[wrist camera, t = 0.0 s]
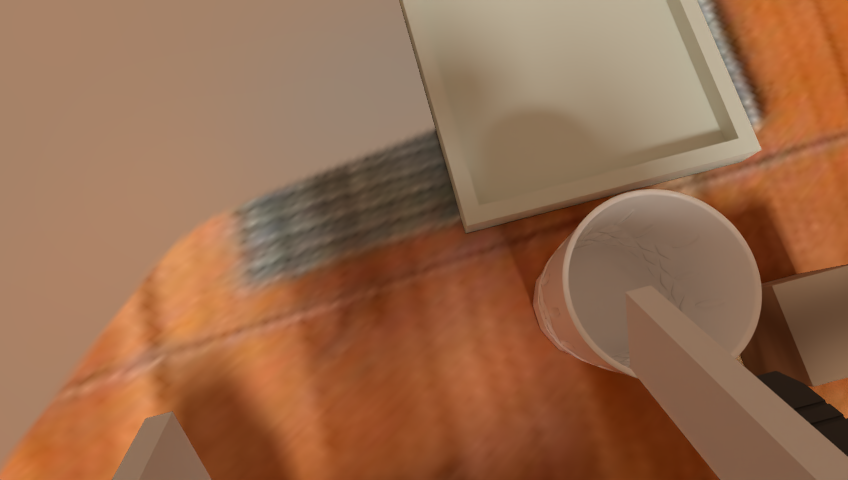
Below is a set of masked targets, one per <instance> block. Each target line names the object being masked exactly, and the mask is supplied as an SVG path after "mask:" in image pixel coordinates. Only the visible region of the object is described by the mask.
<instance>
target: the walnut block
mask: <svg viewBox="0 0 848 480" xmlns="http://www.w3.org/2000/svg"><path fill="white" fill-rule="evenodd" d="M761 287H762V304H761V312H760V317H759V320H758V324H757V327H756V329H755V332H754V334H753V336H752V338H751V340H750V341H749V343H748V345H747V346H746V347H745V349H744V350H743V351H742V353H741V354H740V355H741V358H742V360H743V363H744V366H745V368H747V369H748V370H749V371H750V372H751V373H752V374H753V375H755V376H758V375H762V374H765V373H769V372H773V371H778V372H780V373H782V374H785V375H787V376H789V377H791V378H793V379H796V380H798V381H800V382H802V383H804V384H805V385H806V386H812V387H814V386H818V385H821V384H825V383H829V382H832V381H836V380H840V379H843V378H847V377H848V264H846V265H841V266H836V267H831V268H826V269H821V270H815V271H810V272H805V273H800V274H795V275H792V276H788V277H784V278H780V279H777V280H773V281H769V282H765V283H762V284H761Z"/></svg>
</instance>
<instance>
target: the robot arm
mask: <svg viewBox="0 0 848 480" xmlns="http://www.w3.org/2000/svg"><path fill="white" fill-rule="evenodd" d="M625 296H626V311H627V327H628V342H629V358H630V369H631V370H632V371H633V372H634V373H635V375H636V376H637V377H638V378H639V380H640V381H641V382H642V383H643V385H644V386H645V387H646V388H647V390H648V391H649V392H650V393H651V395H652V396H653V397H654V398H655V400H656V401H657V402H658V403H659V405H660V406H661V407H662V408H663V410H664V411H665V412H666V413H667V415H668V416H669V417H670V418H671V419H672V421H673V422H674V423H675V424H676V426H677V427H678V428H679V429H680V431H681V432H682V433H683V434H684V436H685V437H686V438H687V439H688V441H689V442H690V443H691V444H692V446H693V447H694V448H695V449H696V451H697V452H698V453H699V454H700V456H701V457H702V458H703V459H704V460H705V462H706V463H707V464H708V465H709V467H710V468H711V469H712V470H713V472H714V473H715V474H716V475H717V477H718V478H719V479H720V480H848V418H847V419H845V418H844V416H843V414H842V413H841V412H839V411H838V410H837V409H835V408H834V407H833V406H832V405H830V404H827V403H826V402H825V400H824V399H823V398H822V397H820V396H819V395H818V394H817V393H815V392H814V391H813V390H811V389H810V388H809V387H808V386H806V385H805V384H804V383H802V382H800V381H798V380H796V379H793V378H791V377H789V376H787V375H785V374H782V373H780V372H778V371H773V372H769V373H765V374H762V375H758V376H755V375H753V374H752V373H751V372H750V371H749V370H748V369H747V368H745V367H744V366H743V365H742V364H741V363H740V362H739V361H737V360H736V359H735V358H734V357H733V356H732V355H730V354H729V353H728V352H727V351H726V350H725V349H724V348H722V347H721V346H720V345H719V344H718V343H717V342H716V341H714V340H713V339H712V338H711V337H710V336H709V335H708V334H706V333H705V332H704V331H703V330H702V329H701V328H699V327H698V326H697V325H696V324H695V323H694V322H693V321H691V320H690V319H689V318H688V317H687V316H686V315H685V314H683V313H682V312H681V311H680V310H679V309H678V308H677V307H675V306H674V305H673V304H672V303H671V302H670V301H668V300H667V299H666V298H665V297H664V296H663V295H662V294H660V293H659V292H658V291H657V290H656V289H655V288H654V287H652V286H647V287H643V288H639V289H635V290H632V291H628V292H625ZM112 480H212V479H211V477H210V476H209V474H208V472H207V470H206V469H205V467H204V465H203V464H202V462H201V460H200V458H199V457H198V455H197V453H196V451H195V450H194V448H193V446H192V444H191V443H190V441H189V439H188V437H187V436H186V434H185V432H184V430H183V429H182V427H181V425H180V423H179V422H178V420H177V418H176V416H175V415H174V413H173V411H172V412H168V413H165V414H161V415H157V416H153V417H149V418H146V419H145V421H144V422H143V424H142V426H141V428H140V430H139V431H138V433H137V435H136V437H135V439H134V440H133V442H132V444H131V446H130V448H129V450H128V451H127V453H126V455H125V457H124V459H123V460H122V462H121V464H120V466H119V468H118V470H117V471H116V473H115V475H114V477H113V479H112Z"/></svg>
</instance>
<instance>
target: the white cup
mask: <svg viewBox="0 0 848 480" xmlns="http://www.w3.org/2000/svg"><path fill="white" fill-rule="evenodd" d="M647 286H652V287H654V288H655V289H656V290H657V291H658V292H659V293H660V294H662V295H663V296H664V297H665V298H666V299H667V300H668V301H670V302H671V303H672V304H673V305H674V306H675V307H677V308H678V309H679V310H680V311H681V312H682V313H683V314H685V315H686V316H687V317H688V318H689V319H690V320H691V321H693V322H694V323H695V324H696V325H697V326H698V327H699V328H701V329H702V330H703V331H704V332H705V333H706V334H708V335H709V336H710V337H711V338H712V339H713V340H714V341H716V342H717V343H718V344H719V345H720V346H721V347H722V348H724V349H725V350H726V351H727V352H728V353H729V354H730V355H732V356H733V357H734V358H735V359H736V358H737V357H738V356H739V355H740V354H741V353H742V351H743V350H744V349H745V347H746V346H747V345H748V343H749V341H750V340H751V338H752V336H753V334H754V332H755V329H756V327H757V324H758V320H759V317H760V312H761V304H762V287H761V279H760V274H759V270H758V267H757V264H756V261H755V258H754V256H753V254H752V251H751V249H750V248H749V246H748V244H747V242H746V241H745V239H744V238H743V236H742V235H741V234H740V232H739V231H738V230H737V229H736V227H735V226H734V225H733V224H732V223H731V222H730V221H729V220H728V219H727V218H726V217H725V216H723V215H722V214H721V213H720V212H718V211H717V210H716V209H714V208H713V207H711V206H710V205H708V204H706V203H705V202H703V201H701V200H699V199H697V198H694V197H692V196H689V195H686V194H683V193H680V192H675V191H670V190H663V189H643V190H636V191H631V192H627V193H623V194H620V195H618V196H615V197H613V198H611V199H609V200H607V201H605V202H604V203H602V204H600V205H599V206H598V207H596V208H595V209H594V210H593V211H591V212H590V213H589V214H588V215H587V216H586V217H585V218H584V219H583V221H582V222H581V223H580V224H579V225H578V226H577V227H576V228H575V229H574V231H573V232H572V233H571V234H570V235H569V236H568V237H567V238H566V239H565V240H564V241H563V242H562V244H561V245H560V246H559V247H558V249H557V250H556V251H555V252H554V254H553V255H552V256H551V258H550V259H549V260H548V262H547V264H546V266H545V268H544V269H543V271H542V272H541V274H540V275H539V277H538V278H537V280H536V284H535V291H534V298H533V308H534V311H535V314H536V317H537V320H538V324H539V327H540V330H541V331H542V332H543V333H544V334H545V335H546V336H547V337H548V339H549V340H550V341H551V342H552V343H553V344H554V345H555V346H556V347H557V348H558V349H559V350H561V351H563V352H565V353H568V354H570V355H573V356H575V357H576V358H578V359H580V360H582V361H584V362H587V363H589V364H592V365H595V366H598V367H600V368H603V369H606V370H610V371H613V372H617V373H621V374H624V375H628V376H631V377H635V378H638V377H637V376H636V375H635V373H634V372H633V371H632V370H631V369H630V358H629V342H628V327H627V311H626V296H625V292H628V291H632V290H635V289H639V288H643V287H647ZM638 379H639V378H638Z"/></svg>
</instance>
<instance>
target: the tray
mask: <svg viewBox="0 0 848 480" xmlns="http://www.w3.org/2000/svg"><path fill="white" fill-rule="evenodd" d="M399 1H400V5H401V8H402V12H403V16H404V19H405V23H406V26H407V29H408V33H409V37H410V40H411V44H412V47H413V51H414V54H415V58H416V61H417V64H418V68H419V72H420V75H421V79H422V82H423V85H424V89H425V93H426V96H427V100H428V104H429V107H430V110H431V114H432V118H433V121H434V125H435V128H436V132H437V135H438V139H439V142H440V146H441V149H442V153H443V156H444V160H445V163H446V167H447V170H448V174H449V177H450V181H451V184H452V188H453V191H454V195H455V199H456V202H457V206H458V209H459V213H460V216H461V220H462V223H463V227H464V230H465V234H466V233H469V232H473V231H477V230H481V229H485V228H489V227H493V226H496V225H500V224H504V223H508V222H512V221H516V220H519V219H523V218H527V217H531V216H535V215H539V214H542V213H546V212H550V211H554V210H558V209H562V208H566V207H569V206H573V205H577V204H581V203H585V202H589V201H592V200H596V199H600V198H604V197H608V196H612V195H616V194H619V193H623V192H627V191H631V190H635V189H639V188H642V187H646V186H650V185H654V184H658V183H662V182H665V181H669V180H673V179H677V178H681V177H685V176H689V175H692V174H696V173H700V172H704V171H708V170H712V169H715V168H719V167H723V166H727V165H731V164H735V163H738V162H742V161H743V160H745V159H747V158H748V157H750V156H752V155H753V154H755V153H757V152H758V151H760V150H762V149H761V147H760V145H759V142H758V140H757V138H756V136H755V133H754V131H753V129H752V126H751V124H750V122H749V119H748V117H747V115H746V112H745V110H744V108H743V106H742V103H741V101H740V99H739V96H738V94H737V92H736V89H735V87H734V85H733V83H732V80H731V78H730V76H729V73H728V71H727V69H726V66H725V64H724V62H723V59H722V57H721V55H720V53H719V50H718V48H717V46H716V43H715V41H714V39H713V36H712V34H711V32H710V30H709V27H708V25H707V23H706V20H705V18H704V16H703V13H702V11H701V9H700V6H699V4H698V2H697V0H399Z"/></svg>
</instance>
